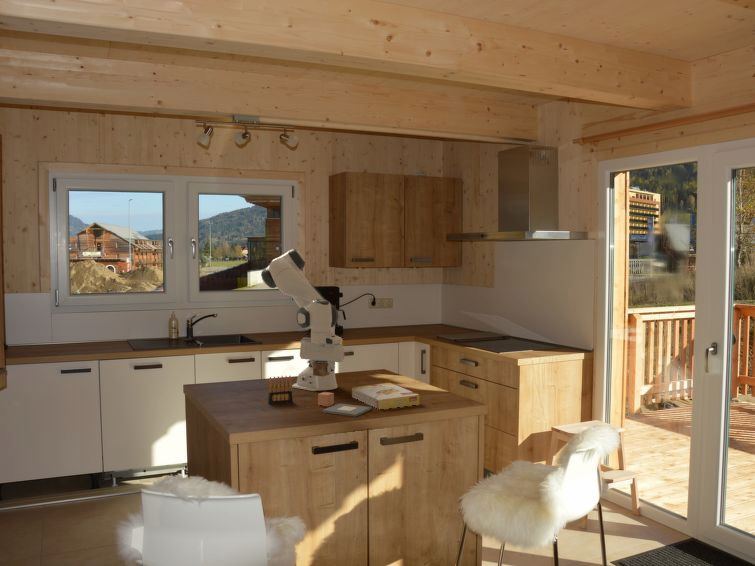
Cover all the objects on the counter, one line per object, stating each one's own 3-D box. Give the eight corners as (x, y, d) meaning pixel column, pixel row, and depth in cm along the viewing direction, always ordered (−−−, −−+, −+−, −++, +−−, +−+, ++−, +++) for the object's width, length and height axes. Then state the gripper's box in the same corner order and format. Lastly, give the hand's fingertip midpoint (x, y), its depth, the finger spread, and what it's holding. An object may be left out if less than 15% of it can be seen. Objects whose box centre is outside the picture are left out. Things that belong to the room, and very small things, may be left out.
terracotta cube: (318, 405, 297) (318, 394, 297) (324, 403, 302) (324, 391, 302) (327, 406, 295) (327, 395, 295) (333, 404, 299) (333, 393, 299)
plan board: (322, 412, 284) (322, 409, 284) (338, 405, 297) (338, 403, 297) (355, 416, 277) (355, 414, 277) (371, 409, 289) (371, 407, 289)
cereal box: (389, 381, 322) (420, 392, 297) (389, 393, 323) (420, 405, 298) (350, 386, 313) (379, 398, 288) (351, 398, 313) (379, 411, 288)
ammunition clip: (291, 401, 305) (291, 374, 304) (292, 402, 303) (292, 375, 303) (268, 403, 301) (267, 376, 300) (268, 404, 299) (268, 377, 299)
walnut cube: (313, 375, 284) (313, 363, 284) (319, 373, 289) (319, 361, 288) (323, 376, 282) (323, 364, 282) (329, 374, 286) (329, 362, 286)
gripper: (296, 337, 287) (296, 370, 287) (338, 340, 277) (338, 374, 278) (305, 335, 292) (305, 367, 293) (345, 338, 283) (346, 371, 283)
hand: (321, 371), depth 285 cm, fingers closed on walnut cube, 5 cm apart
